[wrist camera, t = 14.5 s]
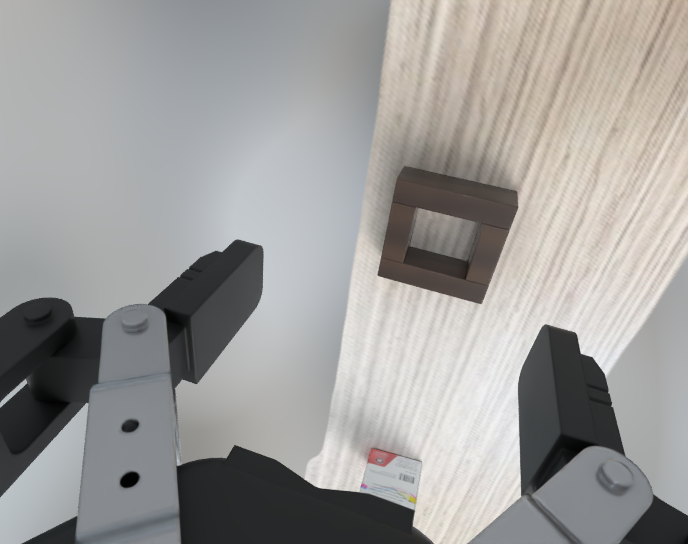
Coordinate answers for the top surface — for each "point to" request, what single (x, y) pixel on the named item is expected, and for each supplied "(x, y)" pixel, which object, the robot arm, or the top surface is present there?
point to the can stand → (455, 200)
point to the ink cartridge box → (392, 478)
